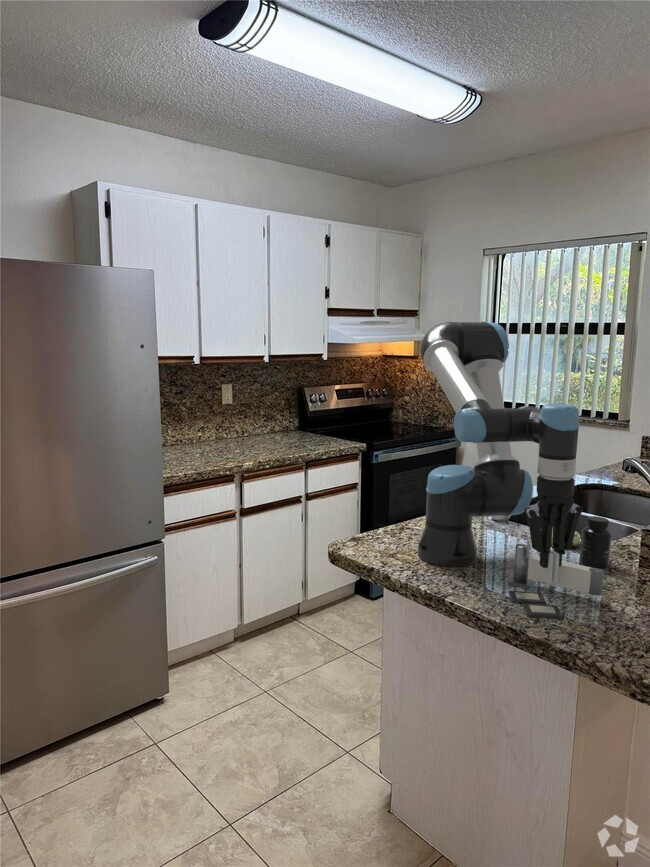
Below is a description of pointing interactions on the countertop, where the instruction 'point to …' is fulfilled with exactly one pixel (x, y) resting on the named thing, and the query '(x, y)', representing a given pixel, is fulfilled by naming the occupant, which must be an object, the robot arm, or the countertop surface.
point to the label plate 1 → (527, 597)
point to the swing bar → (570, 576)
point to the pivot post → (521, 568)
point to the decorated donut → (575, 540)
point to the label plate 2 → (542, 611)
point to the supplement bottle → (596, 543)
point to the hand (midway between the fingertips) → (549, 580)
